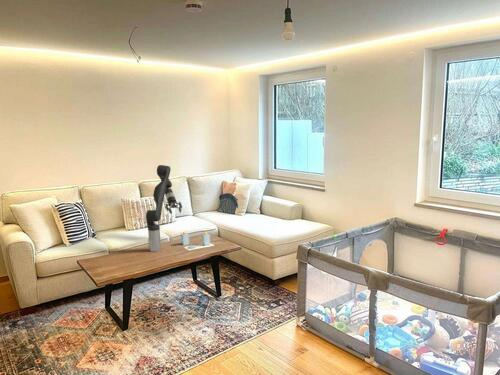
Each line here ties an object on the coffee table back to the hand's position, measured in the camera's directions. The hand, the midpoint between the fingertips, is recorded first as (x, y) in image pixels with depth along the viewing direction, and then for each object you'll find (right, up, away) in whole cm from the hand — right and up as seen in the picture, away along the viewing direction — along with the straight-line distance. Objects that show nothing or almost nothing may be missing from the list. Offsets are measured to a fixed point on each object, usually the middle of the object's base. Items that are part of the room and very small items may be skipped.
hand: (175, 212), depth 339 cm
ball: (+29, -16, -22) cm, 40 cm away
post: (+30, -26, -20) cm, 44 cm away
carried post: (+11, -26, -14) cm, 32 cm away
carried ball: (+10, -17, -15) cm, 25 cm away
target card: (+24, -27, -24) cm, 43 cm away
